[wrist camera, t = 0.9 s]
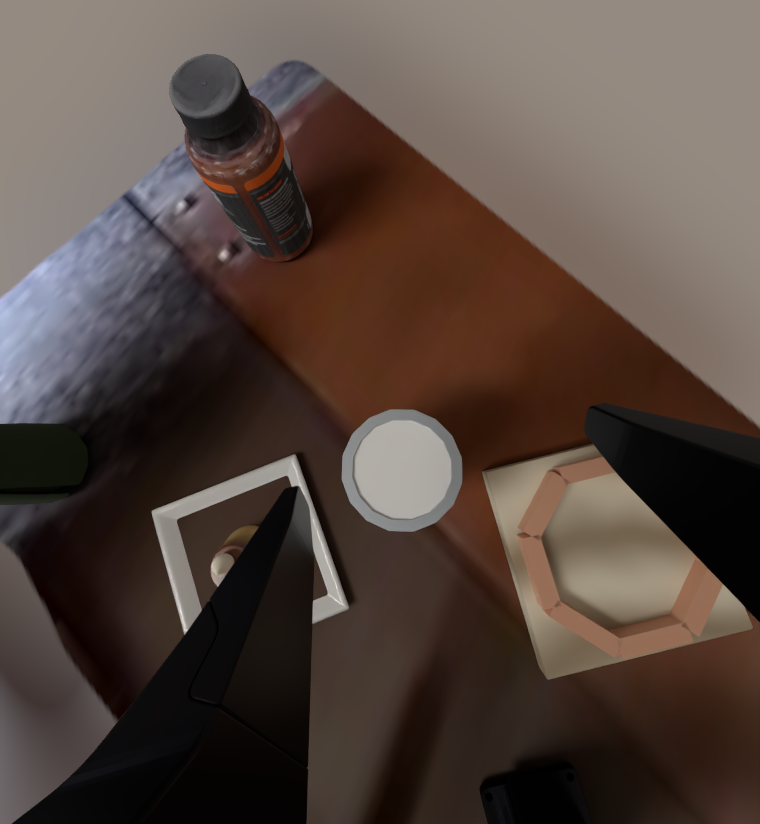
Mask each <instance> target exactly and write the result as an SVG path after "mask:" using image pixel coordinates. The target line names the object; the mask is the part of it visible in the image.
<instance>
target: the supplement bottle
mask: <svg viewBox="0 0 760 824" xmlns="http://www.w3.org/2000/svg"><path fill="white" fill-rule="evenodd" d="M169 89H170V90H169V95H170V98H171V102H172V104H173V105H174V107H175V109H176V111H177V112H178V114H179V115H180V117H181V119H182V121H183V123H184V125H185V127H186V131H185V148H186V151H187V154H188V156H189V159H190V161H191V162H192V164H193V166H194V168H195V169H196V171H197V172H198V174H199V175H200V176H201V178H202V179H203V180H204V183H205V184H206V185H207V187H208V188H209V189H210V191H211V192H212V194H213V195H214V197H215V198H216V200H217V201H218V202H219V204H220V205H221V207H222V208H223V210H224V211H225V212H226V214H227V215H228V217H229V218H230V219H231V221H232V222H233V224H234V225H235V227H236V228H237V230H238V231H239V232H240V234H241V235H242V237H243V238H244V240H245V241H246V243H247V244H248V245H249V247H250V248H251V249H252V250H253V251H254V252H255V253H256V254H257V255H258V256H260V257H261V258H263V259H265V260H267V261H272V262H284V261H288V260H291V259H293V258H295V257H297V256H298V255H300V254H301V253H302V252H303V251H304V250H305V249H306V248H307V246H308V245H309V243H310V241H311V238H312V233H313V224H312V220H311V216H310V213H309V210H308V207H307V205H306V202H305V199H304V196H303V193H302V191H301V188H300V185H299V182H298V179H297V177H296V174H295V171H294V168H293V165H292V162H291V160H290V157H289V154H288V151H287V148H286V146H285V143H284V140H283V137H282V135H281V132H280V129H279V126H278V124H277V122H276V120H275V118H274V116H273V115H272V113H271V111H270V110H269V109H268V108H267V107H266V106H265V104H263V103H262V102H261V101H260V100H258V99H256V98H254V97H253V96H251V95H250V94H249V92H248V89H247V87H246V86H245V83H244V81H243V79H242V76H241V74H240V72H239V70H238V68H237V67H236V65H235V64H234V63H232V62H231V61H230V60H229V59H227V58H225V57H223V56H220V55H215V54H205V55H201V56H197V57H194V58H191V59H190V60H188V61H186V62H185V63H184V64H182V65H181V66H180V67H179V68H178V70H177V71H176V72H175V74H174V75H173V77H172V80H171V82H170V86H169Z"/></svg>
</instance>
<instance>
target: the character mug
mask: <svg viewBox="0 0 760 824" xmlns="http://www.w3.org/2000/svg"><path fill="white" fill-rule="evenodd" d="M87 466H88V455H87V447H86V445H85V444H84V443H83V441H82V440H81V439H80V437H79V436H78V435H77V433H76V432H74V431H72V430H71V429H69V428H68V427H66V426H64V425H63V424H32V423H18V424H0V505H16V504H37V503H52V502H54V501H57V500H59V499H62V498H65V497H67V496H68V495H69V494H70V493H64V494H50V493H52V492H54V491H55V490H57V489H59V488H60V487H61V486H66V485H79V484H80V483H81V482H82V480H83V477H84V474H85V472H86V469H87Z"/></svg>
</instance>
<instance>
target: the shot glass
mask: <svg viewBox="0 0 760 824" xmlns="http://www.w3.org/2000/svg"><path fill="white" fill-rule="evenodd" d="M342 481H343V484H344V487H345V490H346V492H347V495H348V498H349V501H350V503H351V504H352V505H353V506H354V507H355V508H356V509H357V511H358V512H359V513H360V514H361V515H362V516H363V517H364V518H365V519H366V520H367V521H369V522H371V523H373V524H375V525H377V526H380V527H382V528H384V529H386V530H388V531H411V532H414V531H416V530H419V529H421V528H424V527H426V526H429V525H431V524H434V523H436V522H437V521H438V520H439V519H440V518H441V517H442V516H443V515H444V514H445V513H446V512H447V511H448V510H449V509H450V508H451V507H452V506H453V505H454V502H455V499H456V497H457V494H458V492H459V489H460V487H461V484H462V457H461V455H460V452H459V450H458V448H457V445H456V443H455V441H454V438H453V436H452V435H451V434H450V433H449V432H448V431H447V430H446V429H445V428H444V427H443V426H442V425H441V424H440V423H439V422H438V421H437V420H436V419H434V418H432V417H430V416H427V415H425V414H422V413H420V412H418V411H415V410H388V411H386V412H383V413H381V414H378V415H376V416H373V417H370V418H369V419H368V420H367V421H365V422H364V423H363V424H362V425H361V426H360V427H359V428H358V429H357V430H356V431H355V432H354V433H353V434H352V436H351V438H350V440H349V443H348V445H347V447H346V449H345V452H344V454H343V460H342Z"/></svg>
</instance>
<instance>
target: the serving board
mask: <svg viewBox="0 0 760 824" xmlns="http://www.w3.org/2000/svg"><path fill="white" fill-rule="evenodd" d="M599 455H601V453H600V452H599V451H598V450H597V448H596V447H595V446H594V445H593V443H592V444H588V445H584V446H580V447H576V448H572V449H568V450H564V451H560V452H557V453H553V454H549V455H545V456H541V457H537V458H533V459H529V460H525V461H521V462H517V463H513V464H509V465H505V466H501V467H497V468H494V469H490V470H486V471H482V475H483V478H484V482H485V485H486V488H487V492H488V495H489V498H490V502H491V505H492V509H493V512H494V515H495V519H496V522H497V526H498V529H499V532H500V536H501V539H502V542H503V546H504V549H505V553H506V556H507V559H508V563H509V566H510V570H511V573H512V576H513V580H514V583H515V586H516V590H517V593H518V597H519V600H520V603H521V607H522V610H523V614H524V617H525V620H526V624H527V627H528V630H529V634H530V637H531V641H532V644H533V647H534V651H535V654H536V658H537V661H538V664H539V668H540V669H541V670H542V672H543V673H544V675H545V676H546V678H547V679H553V678H557V677H561V676H565V675H569V674H573V673H577V672H581V671H585V670H589V669H593V668H597V667H601V666H605V665H609V664H613V663H617V662H621V661H625V660H629V659H633V658H637V657H641V656H645V655H649V654H653V653H657V652H661V651H665V650H669V649H673V648H677V647H681V646H685V645H689V644H693V643H697V642H701V641H705V640H710V639H714V638H718V637H722V636H726V635H730V634H734V633H738V632H742V631H746V630H750V629H753V627H752V625H751V622H750V619H749V617H748V614H747V612H746V609H745V607H744V606H743V605H742V603H741V602H740V601H739V600H738V599H737V598H736V597H735V596H734V595H733V594H732V593H731V592H730V591H729V590H728V589H727V588H726V587H725V586H724V585H723V586H722V588H721V590H720V592H719V595H718V597H717V599H716V601H715V603H714V606H713V608H712V610H711V612H710V615H709V617H708V619H707V621H706V624H705V626H704V628H703V630H702V633H701V635H700V637H699V636H697V635H695V634H694V633H692V632H690V633H691V636H692V639H693V642H691V643H687V644H683V645H679V646H675V647H671V648H667V649H663V650H659V651H655V652H651V653H647V654H643V655H639V656H635V657H631V658H627V659H622V658H621V657H620V656H619V655H618V654H617V655H616V657H615V658H614V657H613V656H611V655H610V654H608V653H606V652H605V651H603V650H602V649H600V648H598V647H597V646H595V645H594V644H592V643H590V642H589V641H587V640H586V639H584V638H582V637H581V636H579V635H578V634H576V633H574V632H573V631H571V630H570V629H568V628H566V627H565V626H563V625H562V624H560V623H558V622H557V621H555V620H554V619H552V618H550V617H549V616H548V615H547V614H546V613H545V612H544V611H543V610H542V607H541V606H540V605H539V604H538V603H537V601H536V598H535V594H534V591H533V588H532V584H531V581H530V578H529V574H528V571H527V568H526V565H525V561H524V558H523V555H522V551H521V548H520V545H519V541H518V538H517V535H518V534H522V533H525V532H523V531H522V530H520V529H518V528H517V527H518V525H519V523H520V521H521V520H522V518H523V516H524V514H525V512H526V510H527V508H528V506H529V504H530V502H531V501H532V499H533V497H534V495H535V493H536V491H537V489H538V487H539V485H540V484H541V482H542V480H543V478H544V476H545V474H546V472H547V471H548V472H554V471H553V468H552V467H555V466H559V465H563V464H567V463H571V462H575V461H579V460H583V459H587V458H591V457H595V456H599ZM541 541H542V544H543V547H544V550H545V553H546V557H547V560H548V563H549V566H550V569H551V573H552V576H553V579H554V582H555V585H556V588H557V592H558V595H559V598H560V600H562V601H563V602H565V603H567V604H568V605H570V606H571V607H573V608H575V609H576V610H578V611H579V612H581V613H583V614H584V615H586V616H588V617H589V618H591V619H592V620H594V621H596V622H597V623H599V624H601V625H602V626H604V627H605V628H607V629H609V630H611V629H615V628H619V627H623V626H627V625H631V624H635V623H639V622H643V621H647V620H651V619H655V618H659V617H663V616H667V615H669V614H670V612H671V610H672V608H673V606H674V604H675V601H676V599H677V597H678V595H679V593H680V590H681V588H682V586H683V584H684V582H685V580H686V577H687V575H688V573H689V571H690V569H691V567H692V564H693V562H694V560H695V559H694V557H693V554H692V552H691V551H690V550H689V549H688V547H687V546H686V545H685V544H684V543H683V542H682V541H681V540H680V539H679V538H678V537H677V536H676V535H675V534H674V533H673V532H672V531H671V530H670V529H669V528H668V527H667V526H666V525H665V524H664V523H663V522H662V521H661V520H660V518H659V517H658V516H657V515H656V514H655V513H654V512H653V511H652V510H651V509H650V508H649V507H648V506H647V505H646V504H645V503H644V502H643V501H642V500H641V499H640V498H639V497H638V496H637V495H636V494H635V493H634V492H633V490H632V489H631V488H630V487H629V486H628V485H627V484H626V483H625V482H624V481H623V480H622V479H621V478H620V477H619V476H618V475H617V473H616V472H614V473H611V474H607V475H603V476H599V477H595V478H591V479H587V480H583V481H579V482H575V483H571V484H568V486H567V488H566V490H565V492H564V494H563V496H562V497H561V499H560V501H559V503H558V505H557V507H556V509H555V511H554V513H553V515H552V517H551V519H550V521H549V523H548V524H547V526H546V528H545V530H544V532H543V534H542V536H541Z"/></svg>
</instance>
